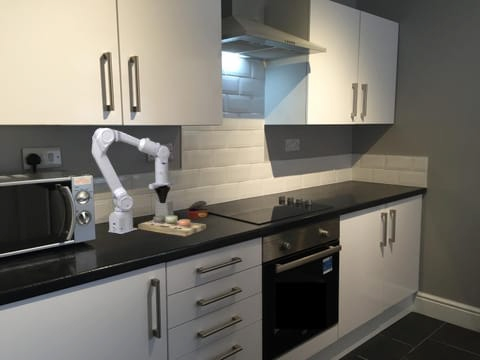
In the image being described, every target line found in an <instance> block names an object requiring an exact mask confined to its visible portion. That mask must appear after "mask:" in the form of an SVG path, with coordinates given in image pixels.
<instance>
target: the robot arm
mask: <svg viewBox="0 0 480 360" xmlns="http://www.w3.org/2000/svg"><path fill="white" fill-rule="evenodd" d="M91 138H92V144H91V154H92V157H93V159H94V161H95V163H96V165H97V167H98V168H99V169H98V170H100V172H101V174H102V176H103V179H104V180H105V182H106V184H107V186H108V187H109V190H110V192H111V196H112V202H113V205H114V206H115V208H114V211H113V212H111V213H110V214H109V217H108V220H109V221H108V223H109V225H108V226H109V230H108V233H113V234H120V235H123V234H126V233H130V232H132V231H137V230H139V229H138V227H134V215H133V213H134V212H133V207H134V199H133V197H131V196H130V195H129V194H128V193H127V192H128V191H126V189H125V188H124V187H123V184H122V183H121V181H120V179H119V177H118V175H117V173H116V171H115V169H114V167H113V165H112V164H111V161H110V159H109V157H108V156H107V151H108V149H109V146H111V145H112V143H114V142H123V143H126V144H128V145H131V146H134V147H137V149H138V151H140V152H142V153H145V154H147V155H150V156H153V157H154V174H155V175H154V177H155V182H153V183H150V184H148V189H150V190H154V191H155V193H156V194H157V197H158V200H159V201H160V203H165V202H166V200H167V198H168V195H169V192H170V190H171V187H170V186H176V185H175V184H176V183H175V182H176V181H175V180H169V179H170V177H169V157H170V156H171V151H170V149H169V148H168V146H167V145H166V146H165V145H161V144H160V142H155V141H152V140H151V139H150V138H149V137H145V138H141V139H139V138H137V137H134V136H133V135H132V136H131V135H129V134H128V133H124V132H123V131H120V130H116V129H112V128H108V127H105V128H103V127H99V128H97V129H96V130H95V131H94V134H93V136H92V137H91Z"/></svg>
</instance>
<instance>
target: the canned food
mask: <svg viewBox="0 0 480 360" xmlns="http://www.w3.org/2000/svg"><path fill="white" fill-rule="evenodd" d="M207 203H208V202H206V201H204V200H198V201H195V202H194V203H192V205H190V206H189V207H188V208H187V217H188V218H190V219H204V218H208V217H209V210H208V209H207V208H202V207H205V206H207Z"/></svg>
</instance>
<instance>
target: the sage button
mask: <svg viewBox="0 0 480 360" xmlns="http://www.w3.org/2000/svg"><path fill="white" fill-rule="evenodd" d="M178 219H179V218H178V215H174V214H173V215H172V216H166V222H169V223H173V222H177V221H179V220H178Z"/></svg>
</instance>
